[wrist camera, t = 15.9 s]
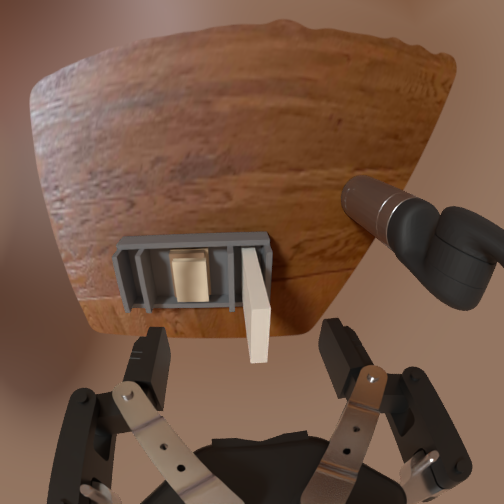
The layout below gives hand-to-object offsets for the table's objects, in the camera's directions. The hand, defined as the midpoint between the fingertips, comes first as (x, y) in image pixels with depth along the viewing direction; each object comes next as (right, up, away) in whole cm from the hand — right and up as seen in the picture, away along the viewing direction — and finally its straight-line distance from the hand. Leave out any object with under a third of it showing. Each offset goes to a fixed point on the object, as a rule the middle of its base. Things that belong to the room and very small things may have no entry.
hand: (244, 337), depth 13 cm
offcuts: (-11, +1, +39) cm, 41 cm away
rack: (-11, +1, +40) cm, 42 cm away
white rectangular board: (-1, +1, +41) cm, 41 cm away
